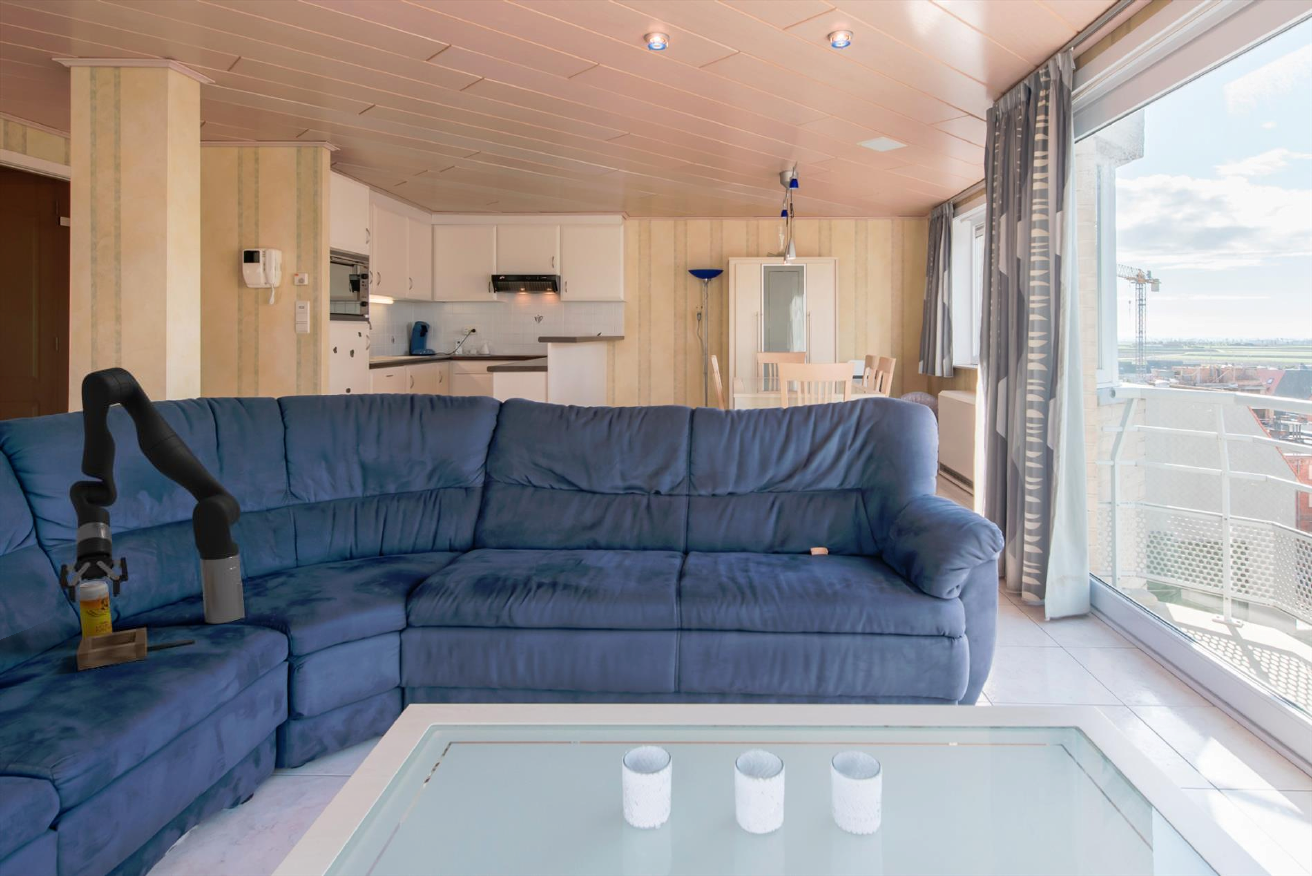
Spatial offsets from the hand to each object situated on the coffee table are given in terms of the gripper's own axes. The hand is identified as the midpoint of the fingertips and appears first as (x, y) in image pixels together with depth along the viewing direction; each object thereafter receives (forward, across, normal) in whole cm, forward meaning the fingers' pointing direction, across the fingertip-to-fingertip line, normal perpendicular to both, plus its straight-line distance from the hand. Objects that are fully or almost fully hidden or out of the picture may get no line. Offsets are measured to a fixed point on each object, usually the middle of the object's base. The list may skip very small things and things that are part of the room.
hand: (94, 598), depth 203 cm
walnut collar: (+19, +9, -4) cm, 22 cm away
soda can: (+10, 0, +6) cm, 11 cm away
